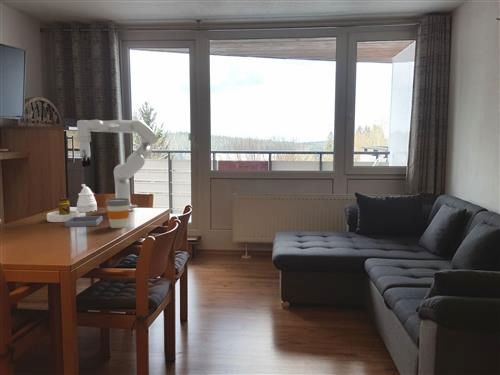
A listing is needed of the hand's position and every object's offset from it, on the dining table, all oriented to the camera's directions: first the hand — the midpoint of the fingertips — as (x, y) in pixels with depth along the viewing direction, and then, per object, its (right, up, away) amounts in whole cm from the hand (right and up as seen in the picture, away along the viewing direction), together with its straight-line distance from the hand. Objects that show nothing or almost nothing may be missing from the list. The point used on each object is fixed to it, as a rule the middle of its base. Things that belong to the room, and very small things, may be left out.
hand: (86, 166), depth 269 cm
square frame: (+10, -35, -28) cm, 46 cm away
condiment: (-8, -33, -15) cm, 37 cm away
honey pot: (-7, -30, +18) cm, 35 cm away
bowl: (-9, -33, -15) cm, 37 cm away
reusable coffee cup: (+33, -36, -38) cm, 61 cm away
